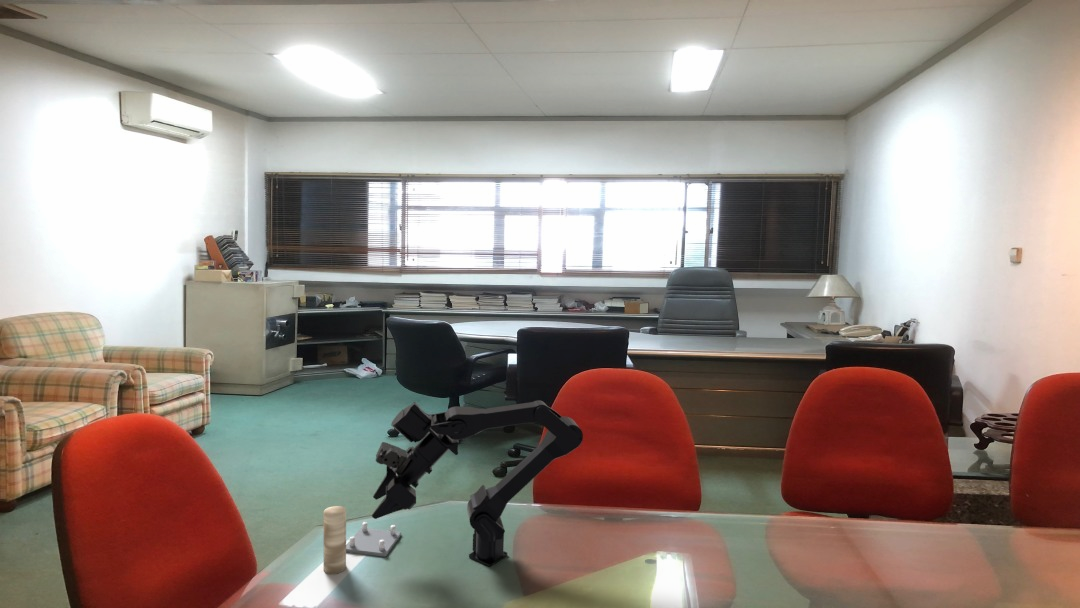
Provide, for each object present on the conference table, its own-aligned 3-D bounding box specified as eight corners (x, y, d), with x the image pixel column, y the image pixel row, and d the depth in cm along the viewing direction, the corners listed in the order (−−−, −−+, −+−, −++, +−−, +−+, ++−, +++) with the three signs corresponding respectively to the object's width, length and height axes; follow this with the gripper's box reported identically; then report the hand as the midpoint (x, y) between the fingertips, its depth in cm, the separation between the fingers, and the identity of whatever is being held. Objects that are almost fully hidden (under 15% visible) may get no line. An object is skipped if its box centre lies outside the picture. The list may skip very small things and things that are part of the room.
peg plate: (401, 535, 151) (401, 524, 150) (385, 556, 141) (385, 545, 141) (361, 530, 152) (361, 519, 152) (343, 551, 142) (343, 540, 142)
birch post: (350, 567, 136) (350, 510, 134) (332, 576, 132) (332, 518, 131) (337, 560, 139) (337, 504, 137) (319, 568, 135) (318, 511, 133)
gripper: (397, 417, 144) (348, 467, 143) (398, 446, 126) (342, 504, 125) (432, 448, 147) (385, 497, 146) (438, 481, 129) (384, 537, 128)
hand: (374, 507), depth 136 cm, fingers open, 9 cm apart
